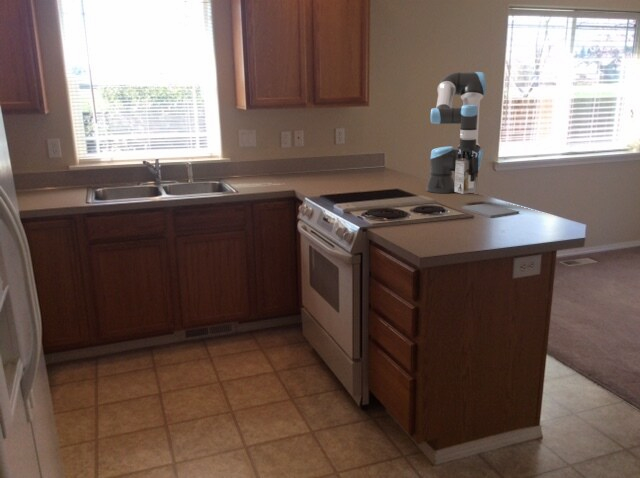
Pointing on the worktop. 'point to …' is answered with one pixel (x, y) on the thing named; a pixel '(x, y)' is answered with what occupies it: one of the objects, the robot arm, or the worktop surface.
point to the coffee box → (463, 176)
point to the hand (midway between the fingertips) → (465, 186)
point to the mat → (490, 210)
